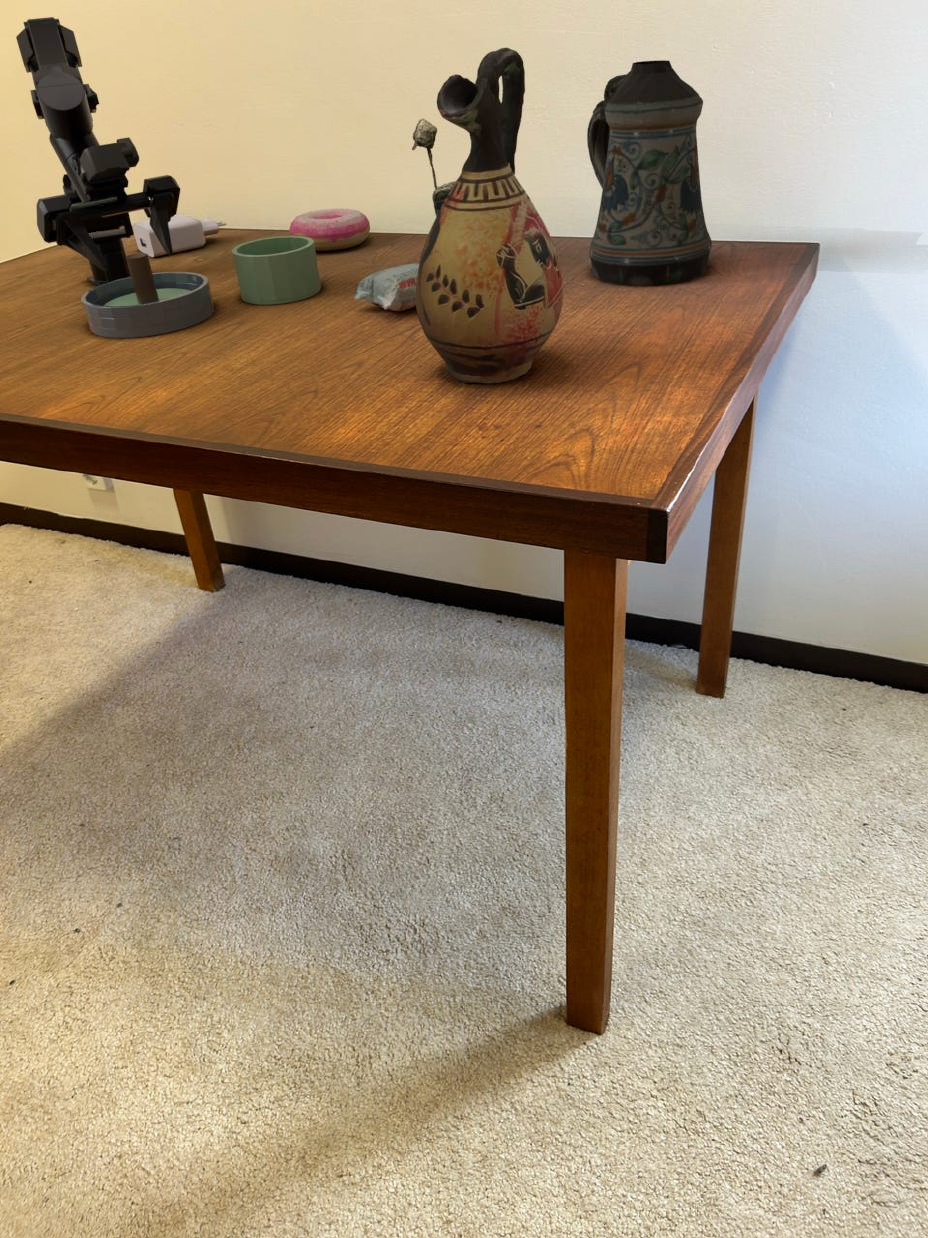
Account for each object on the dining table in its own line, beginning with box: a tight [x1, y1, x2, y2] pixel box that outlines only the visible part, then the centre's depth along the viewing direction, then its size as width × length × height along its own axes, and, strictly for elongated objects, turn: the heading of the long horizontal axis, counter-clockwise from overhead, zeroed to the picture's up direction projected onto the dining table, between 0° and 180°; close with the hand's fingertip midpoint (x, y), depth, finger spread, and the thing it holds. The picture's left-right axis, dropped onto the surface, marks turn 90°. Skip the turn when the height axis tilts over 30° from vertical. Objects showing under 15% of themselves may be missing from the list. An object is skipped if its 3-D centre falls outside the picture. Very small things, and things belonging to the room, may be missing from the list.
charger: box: [131, 213, 227, 258], centre depth 165 cm, size 5×9×15 cm
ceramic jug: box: [415, 47, 564, 384], centre depth 95 cm, size 17×15×30 cm
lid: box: [104, 252, 191, 306], centre depth 127 cm, size 12×12×7 cm
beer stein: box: [586, 59, 713, 287], centre depth 125 cm, size 16×19×25 cm
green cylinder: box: [231, 235, 322, 306], centre depth 134 cm, size 11×11×6 cm
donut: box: [288, 207, 371, 252], centre depth 157 cm, size 14×13×5 cm
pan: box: [80, 271, 215, 339], centre depth 129 cm, size 17×17×4 cm
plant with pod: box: [411, 118, 456, 218], centre depth 135 cm, size 8×11×20 cm
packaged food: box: [354, 262, 419, 312], centre depth 124 cm, size 9×12×5 cm
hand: (138, 260), depth 126 cm, fingers open, 9 cm apart
